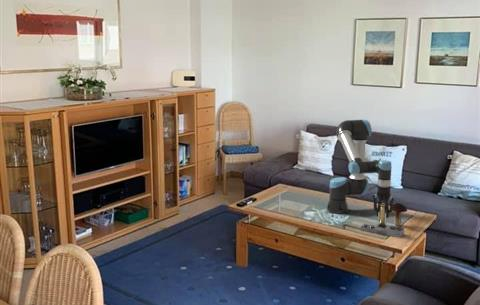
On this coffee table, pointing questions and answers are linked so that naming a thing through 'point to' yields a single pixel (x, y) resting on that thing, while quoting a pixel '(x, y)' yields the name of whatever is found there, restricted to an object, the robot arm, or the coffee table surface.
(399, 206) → the decorative mushroom
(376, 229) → the riveted socket bracket
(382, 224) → the brass pin
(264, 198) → the coffee table surface
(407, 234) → the coffee table surface
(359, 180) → the robot arm
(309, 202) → the coffee table surface
